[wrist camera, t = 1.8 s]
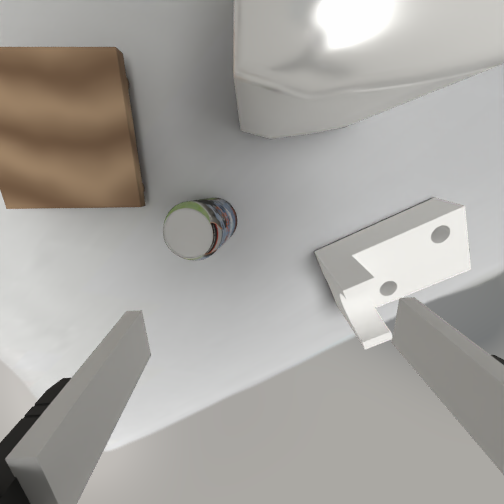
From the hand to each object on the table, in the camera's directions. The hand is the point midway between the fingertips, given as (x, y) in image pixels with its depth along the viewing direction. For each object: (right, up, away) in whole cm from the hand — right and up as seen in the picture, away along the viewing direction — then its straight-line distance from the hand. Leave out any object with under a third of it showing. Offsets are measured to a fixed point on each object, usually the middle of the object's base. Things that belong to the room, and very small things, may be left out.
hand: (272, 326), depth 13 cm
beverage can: (-7, +9, +22) cm, 25 cm away
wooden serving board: (-23, +18, +18) cm, 34 cm away
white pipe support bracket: (+18, +4, +25) cm, 31 cm away
